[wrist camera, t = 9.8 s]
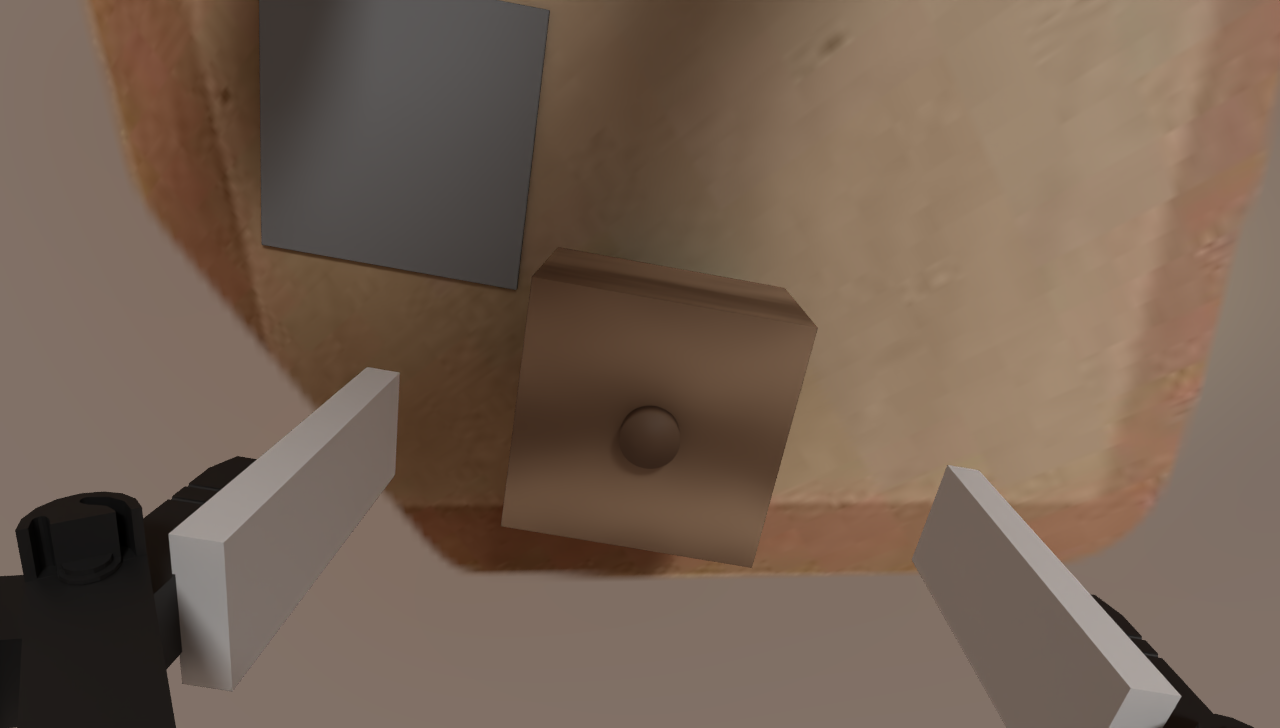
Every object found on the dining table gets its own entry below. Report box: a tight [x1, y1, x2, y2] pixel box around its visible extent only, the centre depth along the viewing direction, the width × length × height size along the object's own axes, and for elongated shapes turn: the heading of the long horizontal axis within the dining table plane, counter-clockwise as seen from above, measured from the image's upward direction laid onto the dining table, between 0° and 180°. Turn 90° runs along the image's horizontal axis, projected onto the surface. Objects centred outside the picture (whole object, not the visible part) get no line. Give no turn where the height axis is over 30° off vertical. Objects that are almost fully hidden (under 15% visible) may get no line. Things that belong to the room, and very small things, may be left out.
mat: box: [259, 0, 550, 290], centre depth 34 cm, size 14×14×1 cm
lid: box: [501, 247, 818, 568], centre depth 30 cm, size 11×11×8 cm
